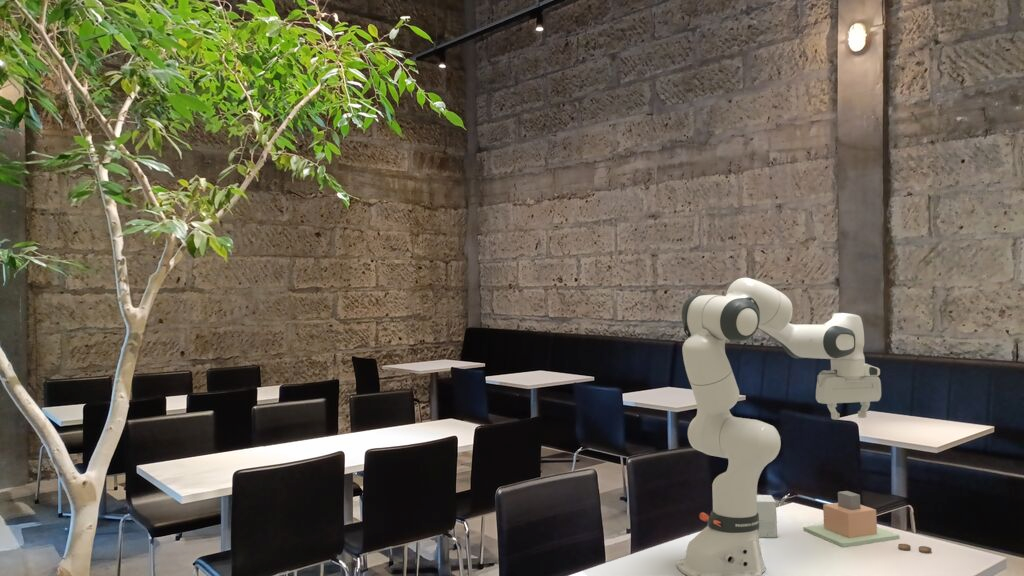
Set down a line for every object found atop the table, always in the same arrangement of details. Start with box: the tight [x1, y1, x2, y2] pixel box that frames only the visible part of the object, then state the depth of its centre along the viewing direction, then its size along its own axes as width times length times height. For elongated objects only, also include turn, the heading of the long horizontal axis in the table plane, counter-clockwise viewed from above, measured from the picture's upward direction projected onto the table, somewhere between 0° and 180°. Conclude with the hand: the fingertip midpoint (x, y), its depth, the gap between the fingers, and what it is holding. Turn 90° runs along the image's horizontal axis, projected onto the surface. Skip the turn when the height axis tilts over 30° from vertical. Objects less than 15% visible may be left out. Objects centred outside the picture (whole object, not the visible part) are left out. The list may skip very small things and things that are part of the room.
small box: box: [757, 494, 778, 538], centre depth 214 cm, size 8×6×10 cm
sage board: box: [803, 523, 901, 548], centre depth 211 cm, size 20×16×1 cm
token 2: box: [918, 545, 932, 555], centre depth 196 cm, size 3×3×1 cm
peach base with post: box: [822, 490, 878, 538], centre depth 211 cm, size 10×10×11 cm
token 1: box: [897, 543, 912, 552], centre depth 198 cm, size 3×3×1 cm
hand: (849, 418), depth 204 cm, fingers open, 8 cm apart
